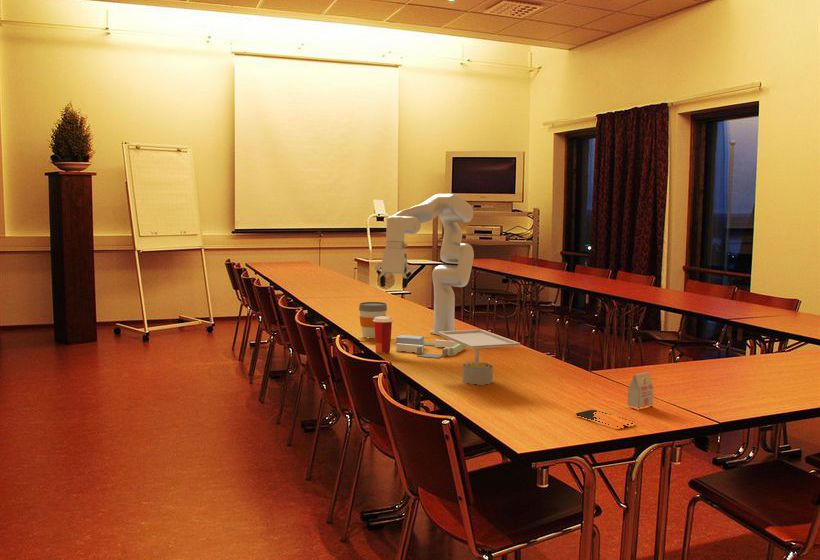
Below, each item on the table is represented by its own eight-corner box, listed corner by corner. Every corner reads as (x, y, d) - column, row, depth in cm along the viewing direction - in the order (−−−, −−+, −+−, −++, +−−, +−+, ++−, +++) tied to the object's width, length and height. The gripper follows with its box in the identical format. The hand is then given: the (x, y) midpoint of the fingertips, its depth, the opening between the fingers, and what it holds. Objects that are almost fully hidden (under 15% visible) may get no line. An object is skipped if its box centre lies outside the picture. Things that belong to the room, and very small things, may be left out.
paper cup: (393, 350, 288) (393, 316, 287) (391, 354, 281) (391, 319, 280) (374, 350, 289) (374, 315, 288) (371, 353, 282) (371, 318, 280)
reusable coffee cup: (386, 339, 313) (386, 305, 312) (357, 339, 313) (357, 305, 312) (387, 334, 326) (387, 302, 324) (360, 334, 326) (360, 301, 324)
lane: (415, 341, 308) (415, 335, 308) (469, 346, 299) (469, 339, 299) (389, 354, 281) (389, 346, 281) (447, 359, 273) (447, 351, 272)
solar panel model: (436, 374, 248) (436, 331, 246) (481, 370, 254) (481, 329, 252) (470, 393, 222) (471, 345, 221) (519, 389, 228) (520, 342, 226)
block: (400, 346, 298) (400, 335, 297) (423, 348, 295) (423, 336, 294) (396, 349, 292) (396, 337, 292) (419, 351, 289) (419, 338, 289)
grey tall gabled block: (627, 407, 208) (628, 373, 207) (641, 404, 212) (643, 371, 211) (638, 410, 205) (639, 376, 204) (652, 407, 209) (654, 373, 208)
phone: (593, 409, 203) (636, 422, 190) (593, 413, 203) (636, 426, 191) (573, 413, 198) (617, 427, 186) (573, 417, 199) (616, 431, 186)
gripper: (417, 246, 296) (416, 287, 297) (379, 245, 302) (378, 285, 303) (411, 246, 289) (409, 289, 290) (372, 245, 295) (371, 286, 296)
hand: (393, 287), depth 297 cm, fingers open, 9 cm apart
